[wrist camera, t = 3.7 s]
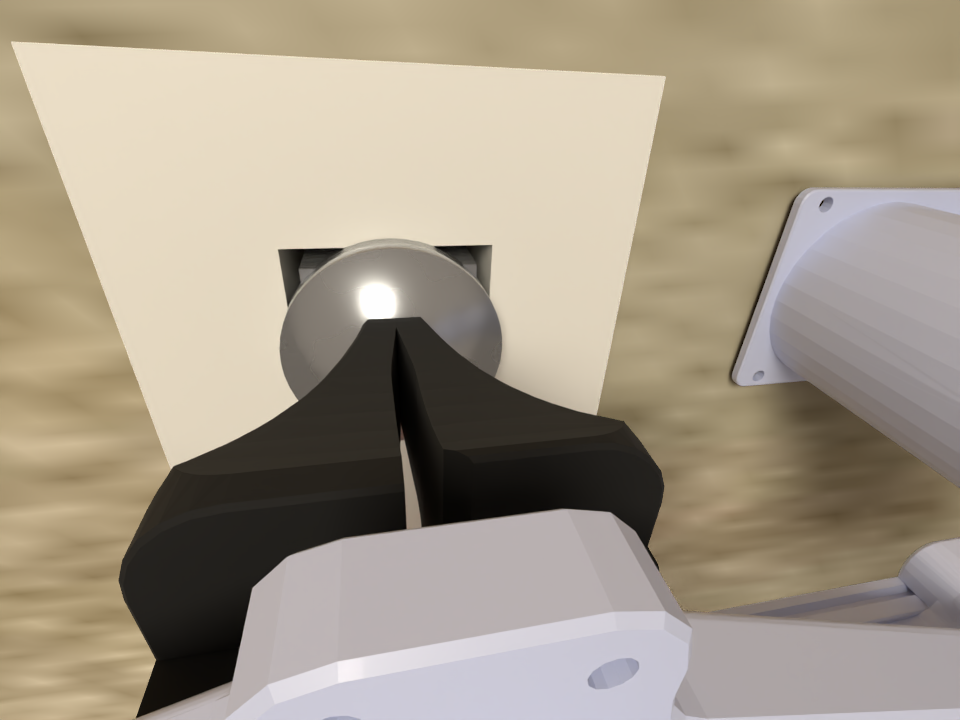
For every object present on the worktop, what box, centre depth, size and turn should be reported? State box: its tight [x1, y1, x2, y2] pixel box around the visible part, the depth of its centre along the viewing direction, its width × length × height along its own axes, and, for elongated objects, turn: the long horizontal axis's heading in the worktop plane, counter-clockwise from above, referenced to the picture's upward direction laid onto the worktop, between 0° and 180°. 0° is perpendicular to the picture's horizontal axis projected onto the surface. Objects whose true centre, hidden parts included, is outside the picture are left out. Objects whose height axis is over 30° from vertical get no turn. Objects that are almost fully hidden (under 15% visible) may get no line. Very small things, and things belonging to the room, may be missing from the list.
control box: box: [11, 42, 666, 529], centre depth 17 cm, size 12×24×4 cm, turn 178°
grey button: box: [280, 238, 502, 440], centre depth 14 cm, size 5×5×5 cm
